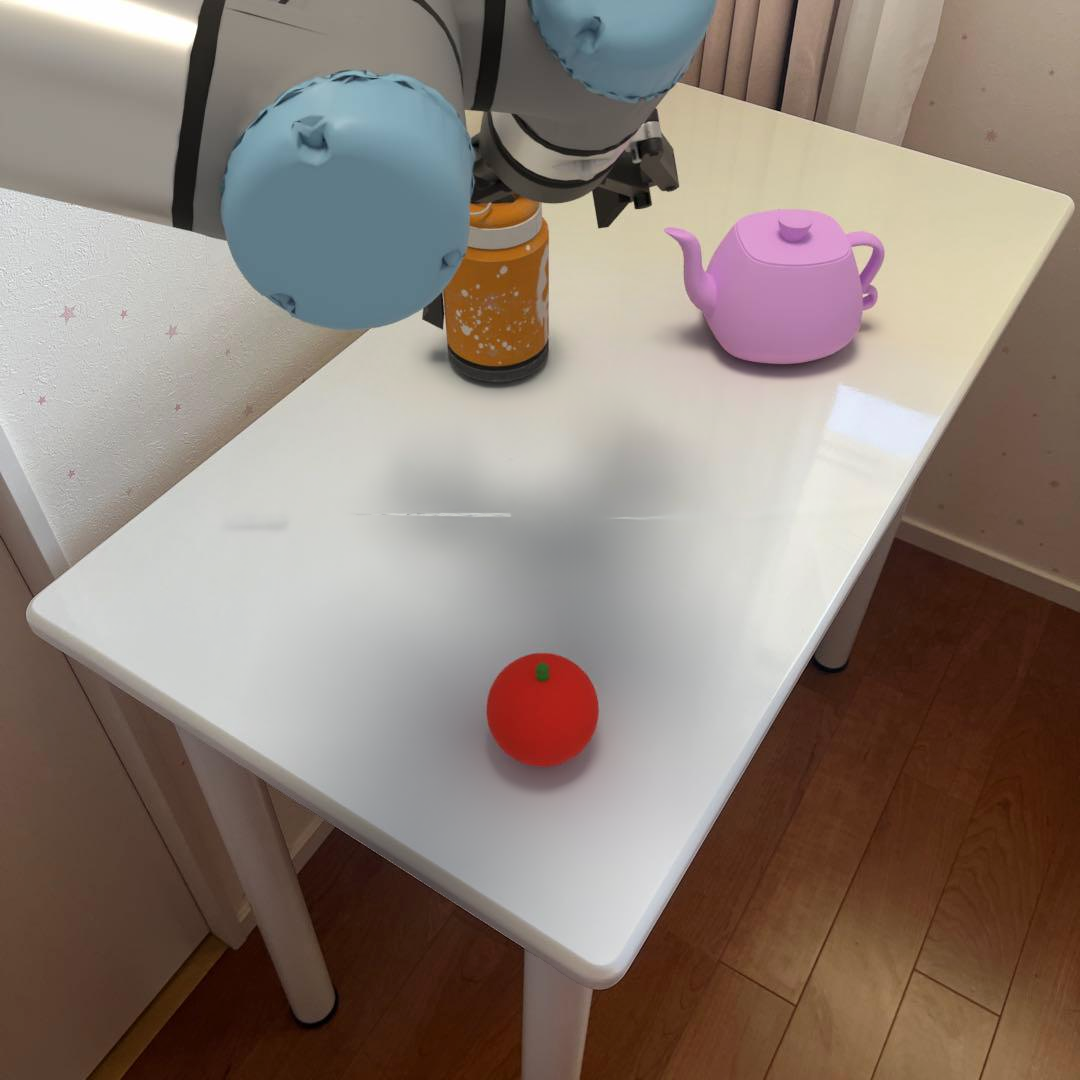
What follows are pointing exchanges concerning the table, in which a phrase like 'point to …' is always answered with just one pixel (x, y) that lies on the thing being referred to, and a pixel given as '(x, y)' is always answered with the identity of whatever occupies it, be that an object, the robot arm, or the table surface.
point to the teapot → (782, 285)
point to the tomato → (542, 709)
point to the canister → (498, 293)
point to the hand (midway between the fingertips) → (506, 221)
